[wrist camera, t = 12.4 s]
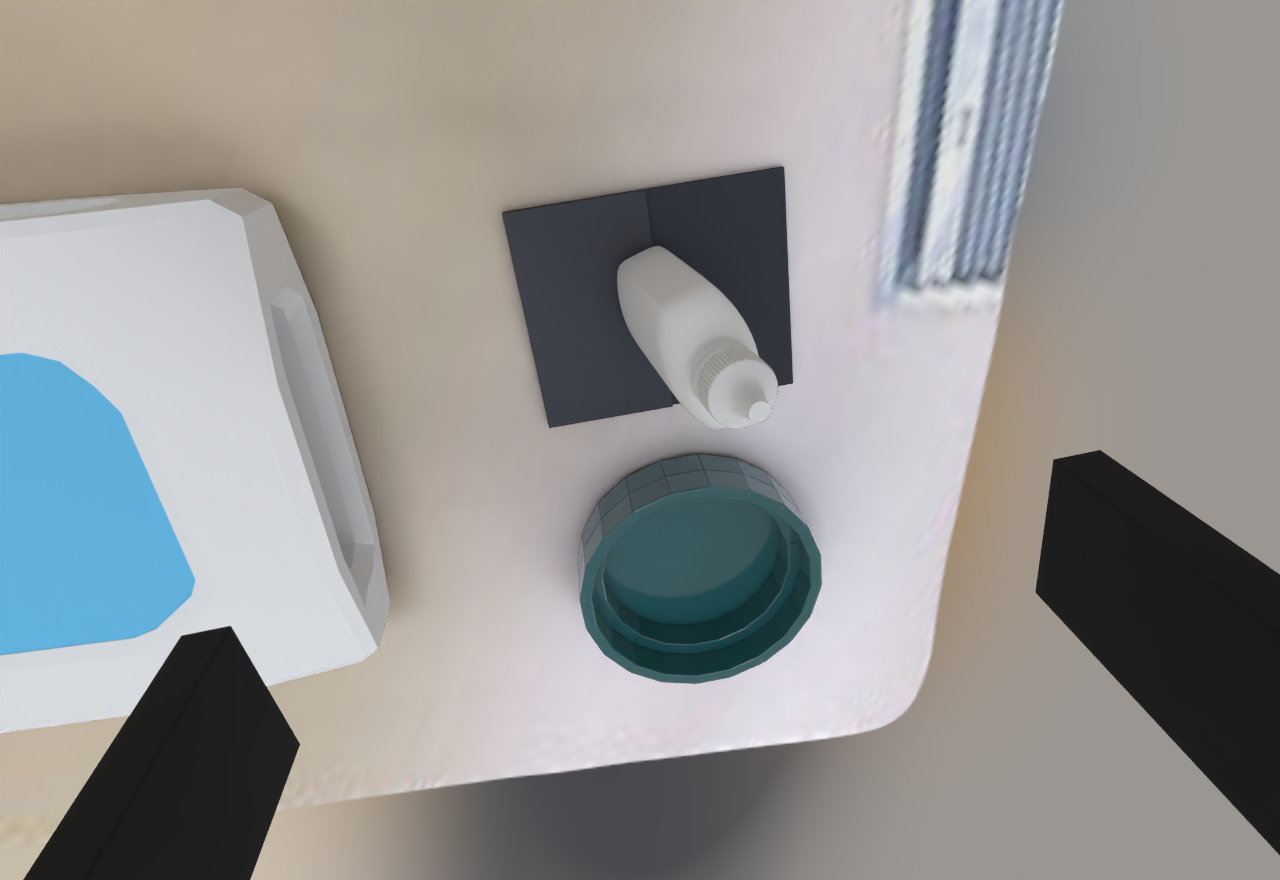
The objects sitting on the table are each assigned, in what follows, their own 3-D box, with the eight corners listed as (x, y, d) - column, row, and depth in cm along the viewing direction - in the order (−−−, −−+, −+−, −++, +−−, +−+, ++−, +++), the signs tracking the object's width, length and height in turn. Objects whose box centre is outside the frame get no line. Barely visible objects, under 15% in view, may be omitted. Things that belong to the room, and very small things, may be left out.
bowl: (558, 475, 36) (559, 514, 33) (795, 432, 36) (819, 466, 33) (598, 654, 41) (602, 702, 38) (802, 615, 42) (823, 659, 39)
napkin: (502, 211, 30) (502, 213, 29) (782, 166, 30) (785, 167, 30) (549, 423, 34) (549, 428, 34) (791, 381, 35) (794, 385, 34)
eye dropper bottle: (714, 247, 31) (845, 323, 21) (698, 367, 34) (808, 492, 23) (617, 240, 30) (703, 318, 20) (607, 366, 33) (679, 495, 22)
